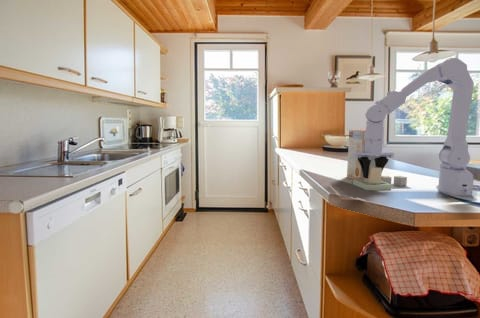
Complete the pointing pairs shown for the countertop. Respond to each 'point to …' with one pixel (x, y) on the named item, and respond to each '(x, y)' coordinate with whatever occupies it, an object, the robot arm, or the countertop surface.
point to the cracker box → (356, 146)
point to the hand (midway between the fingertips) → (371, 177)
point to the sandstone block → (374, 175)
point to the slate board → (399, 187)
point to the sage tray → (364, 185)
